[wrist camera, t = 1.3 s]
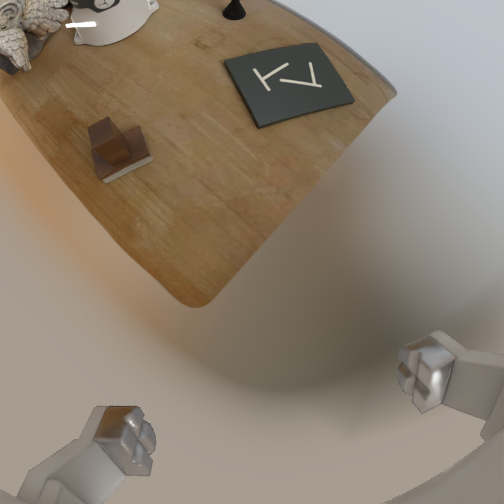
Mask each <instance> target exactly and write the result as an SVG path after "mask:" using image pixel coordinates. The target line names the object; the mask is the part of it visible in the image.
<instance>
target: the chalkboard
mask: <svg viewBox="0 0 504 504" xmlns="http://www.w3.org/2000/svg"><path fill="white" fill-rule="evenodd" d="M224 64H225V66H226V68H227V70H228V72H229V73H230V75H231V77H232V79H233V81H234V83H235V84H236V86H237V88H238V90H239V92H240V94H241V96H242V98H243V100H244V101H245V103H246V105H247V107H248V109H249V111H250V113H251V115H252V117H253V119H254V121H255V123H256V125H257V127H258V129H259V128H262V127H265V126H269V125H272V124H275V123H278V122H281V121H285V120H288V119H292V118H295V117H299V116H302V115H306V114H310V113H313V112H317V111H321V110H325V109H329V108H333V107H338V106H342V105H346V104H351V103H353V102H354V101H355V100H354V98H353V96H352V95H351V93H350V91H349V90H348V88H347V86H346V85H345V83H344V82H343V80H342V78H341V77H340V75H339V74H338V72H337V71H336V69H335V68H334V66H333V65H332V63H331V62H330V60H329V59H328V58H327V56H326V55H325V53H324V52H323V51H322V49H321V48H320V46H319V45H318V44H317V43H310V44H302V45H295V46H289V47H283V48H277V49H272V50H267V51H262V52H258V53H253V54H249V55H245V56H241V57H237V58H233V59H229V60H225V61H224Z"/></svg>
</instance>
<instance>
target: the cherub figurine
mask: <svg viewBox="0 0 504 504" xmlns="http://www.w3.org/2000/svg"><path fill="white" fill-rule="evenodd" d="M68 2H69V1H68V0H11V1H7V2H5V3H4V4H2V5H1V6H0V69H2V70H4V71H6V72H7V73H9V74H11V75H12V76H14V75H15V73H16V72H17V71H18V70H19V69H20V68H22V69H23V73H24V72H28V71H29V70H31V65H30V61H31V60H33V59H35V58H36V57H37V56H38V55H39V54H40V52H41V50H42V47H43V46H44V42H45V40H47V38H48V37H49V35H50V33H49V32H55V31H57V30H58V29H59V28H60V26H61V23H60V21H61V22H62V21H65V20H66V19H67V18H68V17H69V13H68V11H67V10H66V9H62V8H61V7H64V6H65V5H67V4H68Z"/></svg>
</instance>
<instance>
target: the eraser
mask: <svg viewBox="0 0 504 504" xmlns="http://www.w3.org/2000/svg"><path fill="white" fill-rule="evenodd" d="M88 132H89V136H90V141H91V145H92V150H91V151H92V155H93V158H94V162H95V166H96V170H97V173H98V177H99V179H100V180H102V181H104V182H105V183H109V182H111V181H113V180H114V179H116V178H118V177H120V176H122V175H124V174H126V173H128V172H130V171H132V170H134V169H136V168H138V167H140V166H142V165H144V164H147V163H149V162H151V161H153V160H154V159H153V156H152V154H151V151H150V148H149V145H148V143H147V140H146V137H145V134H144V132H143V130H142V129H141V127H140V126H137V127H135V128H133V129H130V130H128V131H126V132H124V133H121V132H120V130H119V129H118V128H117V127H116V125H115V124H114V123H113V122H112V120H111V119H110V118H109V117H106V118H104V119H102V120H100V121H98V122H97V123H95V124H93V125H91V126H89V127H88Z"/></svg>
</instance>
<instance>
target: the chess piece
mask: <svg viewBox="0 0 504 504" xmlns="http://www.w3.org/2000/svg"><path fill="white" fill-rule="evenodd" d="M245 15H246V12H245V10H244V8H243V7H242V5H241V4H240V1H239V0H232V1H231V2H230V4H229V5H228V6H227V7H226V8H225V10H224V11H223V16H224V17H225V18H227V19H231V20H238V19H242V18H243V17H244V16H245Z"/></svg>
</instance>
